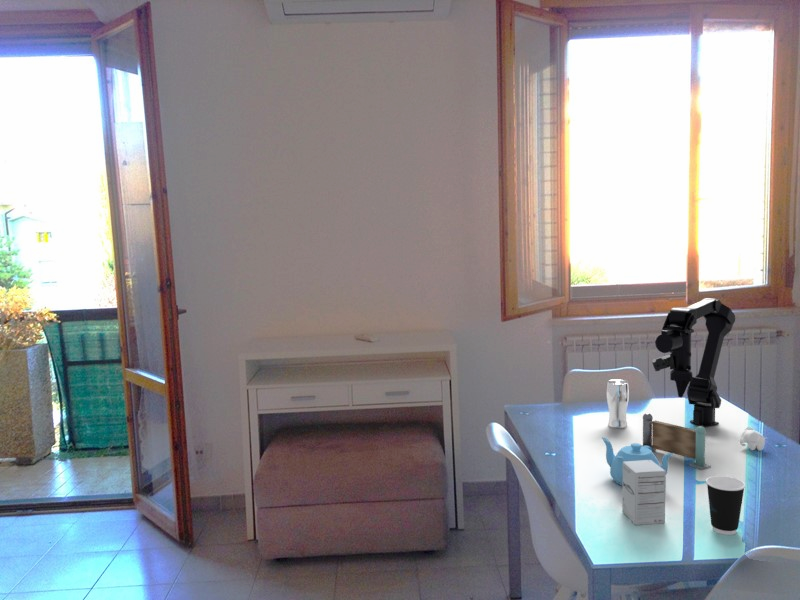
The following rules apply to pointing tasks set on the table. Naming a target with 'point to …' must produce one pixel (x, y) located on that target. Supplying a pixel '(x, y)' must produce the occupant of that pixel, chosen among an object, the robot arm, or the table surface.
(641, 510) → the supplement box
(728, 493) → the dixie cup
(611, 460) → the teapot
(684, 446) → the gate
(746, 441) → the elephant figurine
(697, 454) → the post
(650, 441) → the hinge post
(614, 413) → the beer glass
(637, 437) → the table surface
